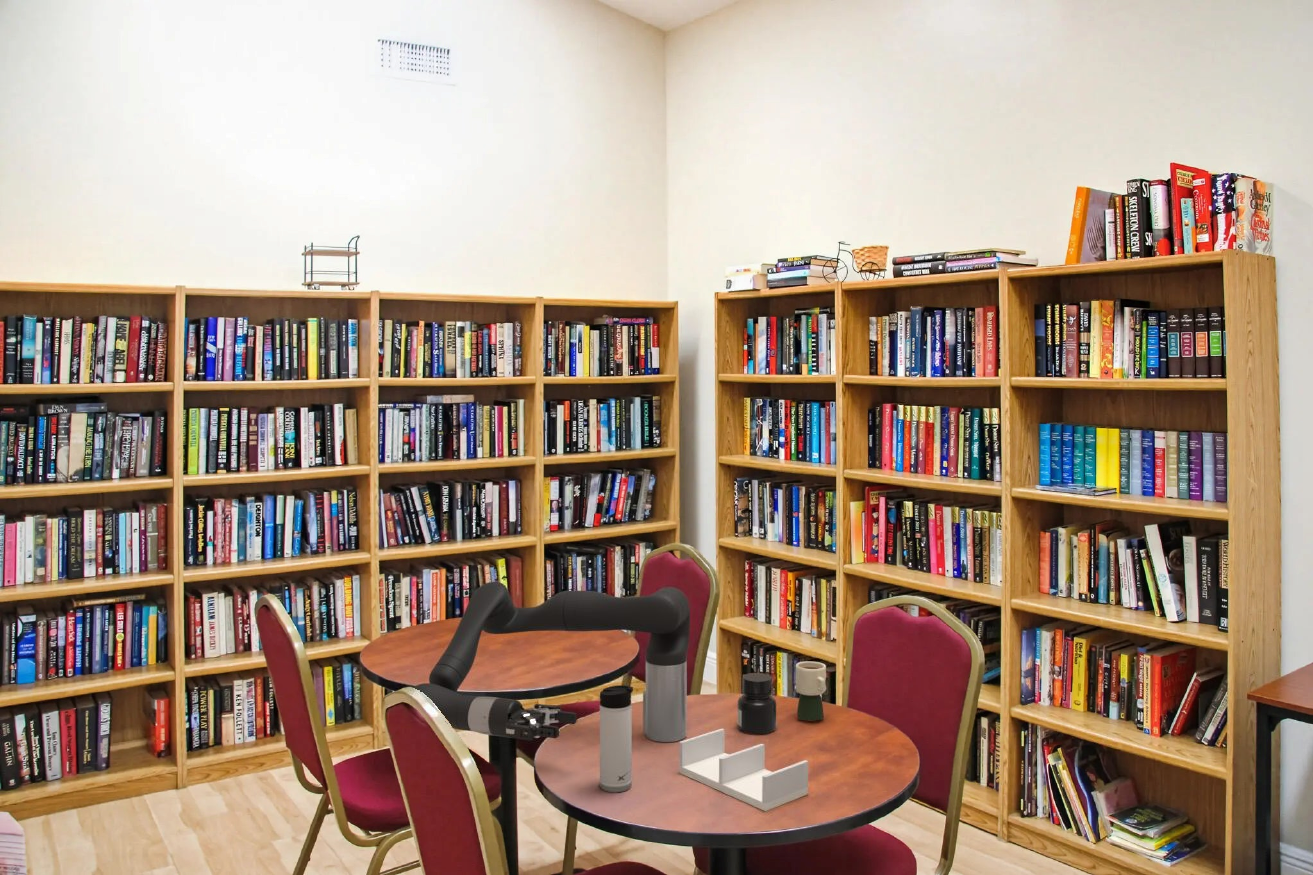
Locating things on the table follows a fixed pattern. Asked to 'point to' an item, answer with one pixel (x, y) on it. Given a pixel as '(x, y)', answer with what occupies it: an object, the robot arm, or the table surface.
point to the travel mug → (615, 738)
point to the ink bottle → (756, 704)
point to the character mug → (810, 689)
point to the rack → (741, 772)
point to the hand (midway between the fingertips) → (567, 725)
